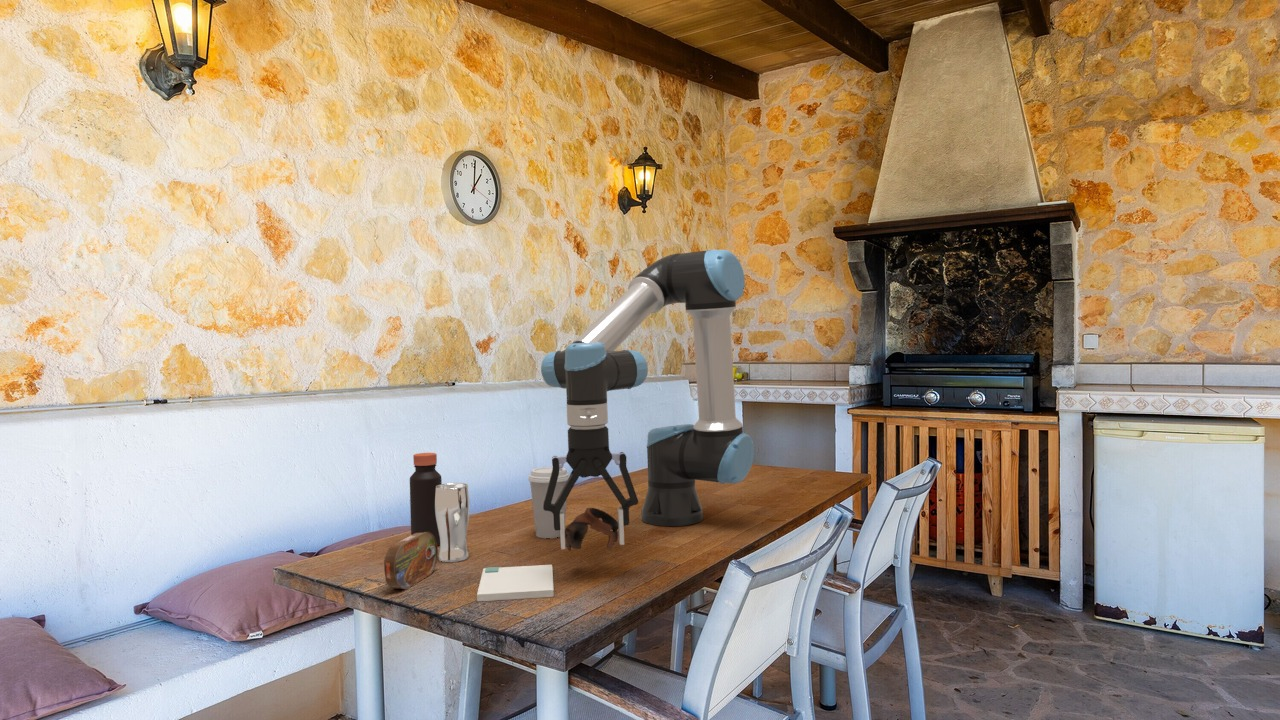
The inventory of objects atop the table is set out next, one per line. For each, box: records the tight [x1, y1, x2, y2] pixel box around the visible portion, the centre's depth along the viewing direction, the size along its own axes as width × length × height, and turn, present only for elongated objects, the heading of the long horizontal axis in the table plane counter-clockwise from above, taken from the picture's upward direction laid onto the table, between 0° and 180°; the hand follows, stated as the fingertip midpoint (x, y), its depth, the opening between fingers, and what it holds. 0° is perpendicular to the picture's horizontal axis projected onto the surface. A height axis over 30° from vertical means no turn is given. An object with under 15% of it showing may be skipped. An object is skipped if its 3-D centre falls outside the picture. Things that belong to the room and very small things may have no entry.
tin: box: [383, 532, 439, 590], centre depth 139 cm, size 15×3×8 cm, turn 166°
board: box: [476, 564, 555, 602], centre depth 136 cm, size 13×15×2 cm
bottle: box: [409, 452, 443, 547], centre depth 165 cm, size 7×7×20 cm
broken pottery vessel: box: [565, 507, 619, 551], centre depth 141 cm, size 12×10×8 cm
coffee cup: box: [527, 466, 570, 539], centre depth 171 cm, size 10×10×15 cm
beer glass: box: [435, 482, 471, 563], centre depth 154 cm, size 7×7×15 cm
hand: (592, 544), depth 139 cm, fingers closed on broken pottery vessel, 10 cm apart
